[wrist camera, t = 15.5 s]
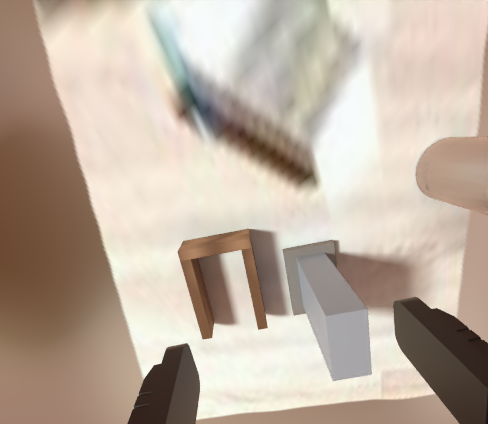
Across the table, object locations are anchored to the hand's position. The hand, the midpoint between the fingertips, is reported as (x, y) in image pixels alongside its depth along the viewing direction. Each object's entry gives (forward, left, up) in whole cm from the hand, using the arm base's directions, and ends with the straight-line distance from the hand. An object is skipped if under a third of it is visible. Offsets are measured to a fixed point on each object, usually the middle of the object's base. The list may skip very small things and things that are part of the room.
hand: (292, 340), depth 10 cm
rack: (+7, +14, -30) cm, 34 cm away
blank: (-7, +16, -29) cm, 34 cm away
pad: (-7, +16, -30) cm, 35 cm away
